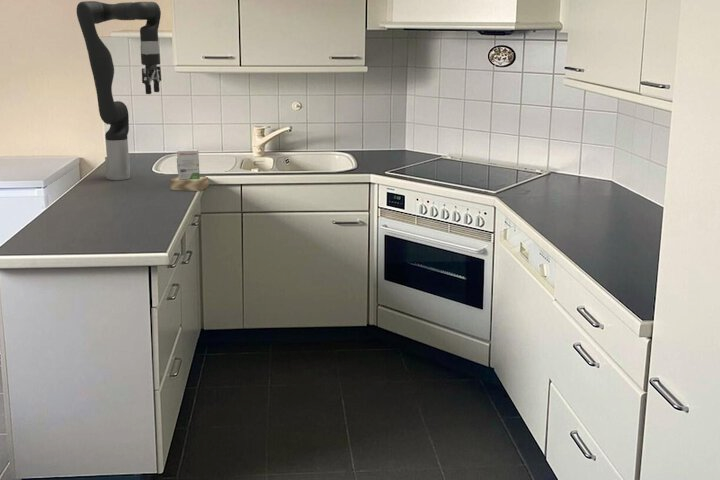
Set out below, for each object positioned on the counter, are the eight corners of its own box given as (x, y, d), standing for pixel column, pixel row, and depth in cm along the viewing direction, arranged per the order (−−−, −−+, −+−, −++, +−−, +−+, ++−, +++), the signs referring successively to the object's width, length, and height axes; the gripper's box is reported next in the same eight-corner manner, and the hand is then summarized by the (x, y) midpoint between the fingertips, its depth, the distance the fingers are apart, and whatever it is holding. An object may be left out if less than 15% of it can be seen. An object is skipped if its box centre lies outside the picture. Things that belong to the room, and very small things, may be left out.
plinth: (170, 189, 349) (170, 180, 348) (178, 185, 358) (178, 176, 357) (201, 190, 347) (200, 180, 346) (208, 186, 356) (208, 176, 355)
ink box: (199, 176, 355) (197, 148, 352) (199, 179, 350) (198, 150, 347) (178, 177, 353) (176, 149, 350) (178, 180, 349) (177, 151, 346)
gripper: (148, 51, 354) (150, 91, 359) (134, 53, 341) (137, 94, 345) (165, 52, 353) (167, 91, 357) (152, 53, 340) (154, 94, 344)
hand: (152, 93), depth 351 cm, fingers open, 8 cm apart
